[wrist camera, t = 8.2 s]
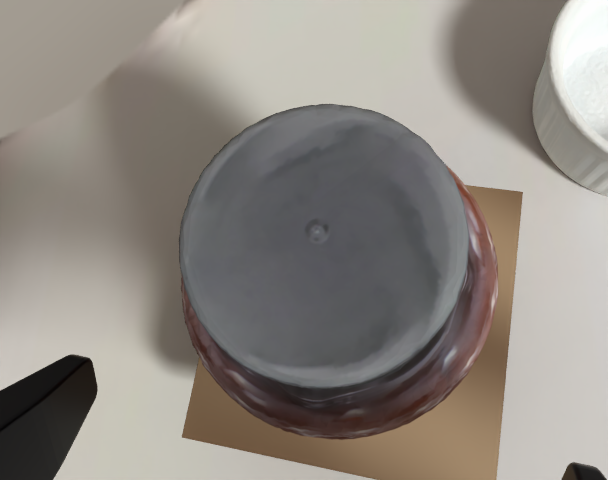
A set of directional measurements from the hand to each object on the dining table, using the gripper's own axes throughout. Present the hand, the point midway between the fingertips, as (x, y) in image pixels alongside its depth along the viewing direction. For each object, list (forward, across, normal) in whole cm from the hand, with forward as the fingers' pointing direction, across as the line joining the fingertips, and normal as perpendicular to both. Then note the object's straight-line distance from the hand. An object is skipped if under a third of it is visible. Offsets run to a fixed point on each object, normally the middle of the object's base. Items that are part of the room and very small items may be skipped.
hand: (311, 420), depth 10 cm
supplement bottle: (+8, 0, +4) cm, 8 cm away
